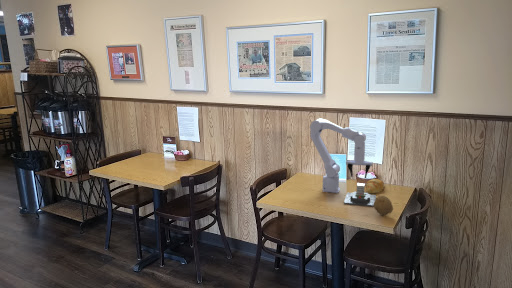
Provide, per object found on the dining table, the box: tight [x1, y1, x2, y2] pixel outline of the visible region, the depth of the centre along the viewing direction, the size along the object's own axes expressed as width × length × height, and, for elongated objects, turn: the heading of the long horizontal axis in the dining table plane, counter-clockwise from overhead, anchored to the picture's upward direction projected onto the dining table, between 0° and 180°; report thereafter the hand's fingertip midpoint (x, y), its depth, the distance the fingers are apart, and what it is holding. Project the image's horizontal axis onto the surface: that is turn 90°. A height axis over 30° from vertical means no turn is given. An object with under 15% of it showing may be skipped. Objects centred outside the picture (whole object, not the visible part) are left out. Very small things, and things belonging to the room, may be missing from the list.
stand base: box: [343, 191, 377, 208], centre depth 212 cm, size 16×16×4 cm
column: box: [356, 182, 366, 197], centre depth 211 cm, size 4×4×6 cm
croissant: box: [365, 178, 385, 195], centre depth 228 cm, size 21×10×8 cm, turn 142°
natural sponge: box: [373, 195, 394, 216], centre depth 192 cm, size 9×9×10 cm
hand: (358, 177), depth 220 cm, fingers open, 7 cm apart
